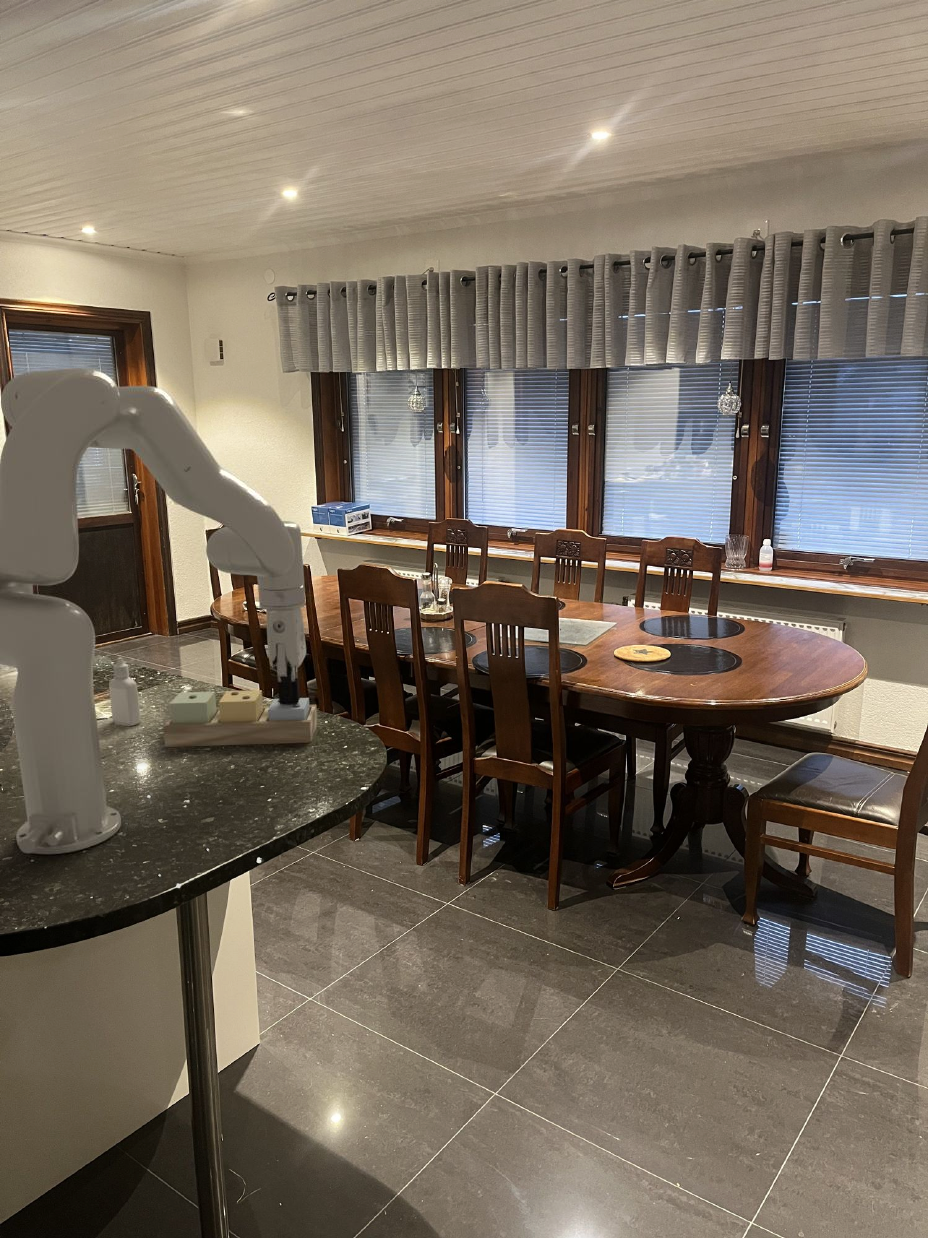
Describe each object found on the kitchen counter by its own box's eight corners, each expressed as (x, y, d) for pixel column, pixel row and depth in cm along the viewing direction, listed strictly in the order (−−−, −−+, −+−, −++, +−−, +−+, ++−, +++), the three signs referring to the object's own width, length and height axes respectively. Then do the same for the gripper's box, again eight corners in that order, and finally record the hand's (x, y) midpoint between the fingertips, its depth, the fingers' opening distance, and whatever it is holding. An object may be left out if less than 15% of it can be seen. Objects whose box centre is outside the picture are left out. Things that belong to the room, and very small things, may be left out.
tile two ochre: (256, 722, 149) (255, 699, 148) (220, 723, 148) (218, 701, 148) (263, 710, 154) (261, 689, 154) (228, 711, 154) (226, 690, 153)
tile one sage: (208, 723, 148) (206, 701, 148) (171, 724, 148) (169, 702, 147) (216, 712, 154) (214, 690, 153) (181, 713, 154) (179, 691, 153)
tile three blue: (305, 730, 149) (304, 707, 148) (269, 731, 149) (267, 708, 148) (310, 718, 155) (308, 696, 154) (275, 719, 155) (273, 697, 154)
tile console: (310, 742, 148) (309, 721, 147) (165, 747, 147) (163, 726, 147) (317, 724, 157) (316, 704, 156) (179, 728, 156) (178, 708, 155)
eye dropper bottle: (115, 729, 156) (108, 663, 154) (112, 720, 161) (104, 656, 159) (141, 725, 158) (135, 660, 156) (137, 716, 163) (130, 652, 160)
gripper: (298, 605, 140) (306, 716, 144) (310, 587, 155) (317, 688, 159) (250, 607, 140) (259, 718, 144) (267, 588, 154) (274, 689, 159)
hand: (289, 702), depth 151 cm, fingers closed
